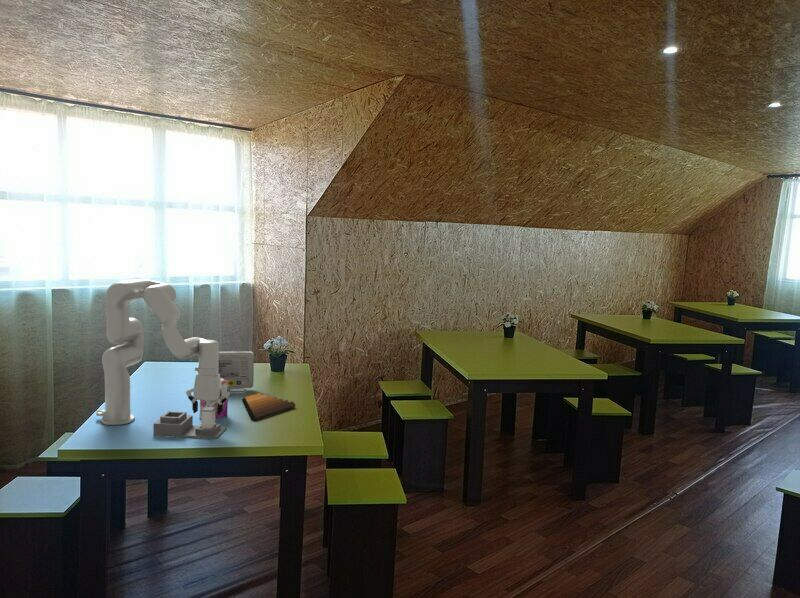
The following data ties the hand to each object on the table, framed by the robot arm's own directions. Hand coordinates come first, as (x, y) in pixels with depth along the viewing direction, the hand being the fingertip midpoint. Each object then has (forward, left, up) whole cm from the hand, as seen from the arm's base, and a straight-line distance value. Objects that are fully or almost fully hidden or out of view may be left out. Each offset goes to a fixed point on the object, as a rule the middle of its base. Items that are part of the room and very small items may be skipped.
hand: (207, 412), depth 235 cm
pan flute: (+11, +34, -9) cm, 37 cm away
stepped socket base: (-7, 0, -8) cm, 11 cm away
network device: (-11, +60, -9) cm, 61 cm away
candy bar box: (-4, +19, -9) cm, 21 cm away
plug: (0, 0, -7) cm, 7 cm away
